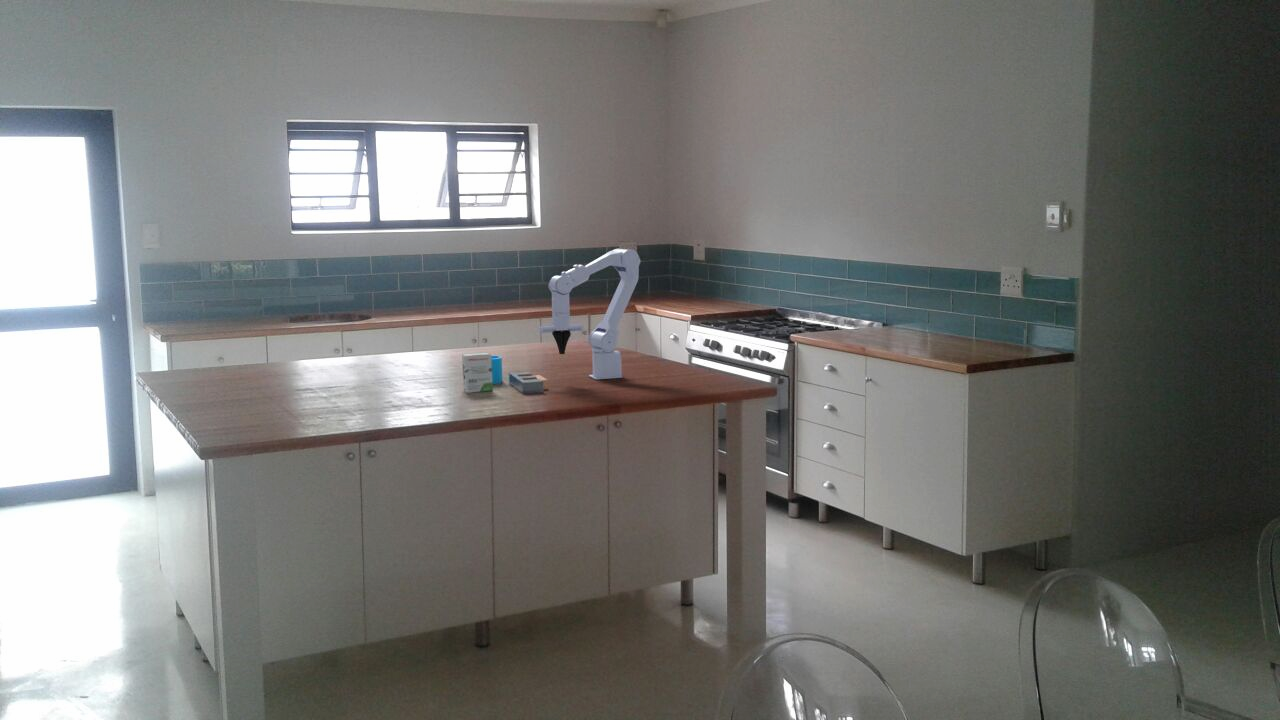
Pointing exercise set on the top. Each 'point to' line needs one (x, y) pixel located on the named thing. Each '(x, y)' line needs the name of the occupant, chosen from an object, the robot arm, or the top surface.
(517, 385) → the grey hollow block
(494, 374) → the blue cylinder
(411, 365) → the top surface
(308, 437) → the top surface
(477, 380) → the ink box
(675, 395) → the top surface
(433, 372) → the top surface
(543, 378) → the clip
